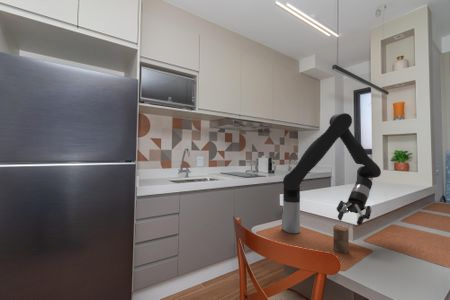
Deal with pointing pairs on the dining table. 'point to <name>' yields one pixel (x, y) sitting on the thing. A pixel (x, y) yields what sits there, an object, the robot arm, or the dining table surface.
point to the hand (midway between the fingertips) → (348, 221)
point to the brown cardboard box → (341, 239)
